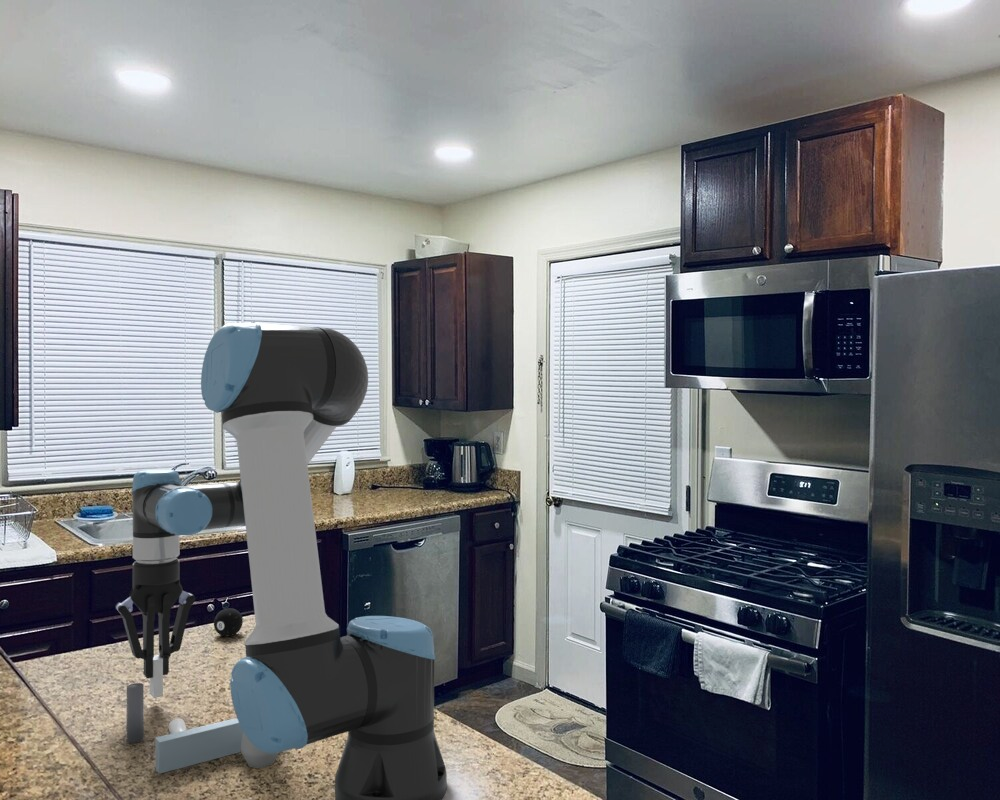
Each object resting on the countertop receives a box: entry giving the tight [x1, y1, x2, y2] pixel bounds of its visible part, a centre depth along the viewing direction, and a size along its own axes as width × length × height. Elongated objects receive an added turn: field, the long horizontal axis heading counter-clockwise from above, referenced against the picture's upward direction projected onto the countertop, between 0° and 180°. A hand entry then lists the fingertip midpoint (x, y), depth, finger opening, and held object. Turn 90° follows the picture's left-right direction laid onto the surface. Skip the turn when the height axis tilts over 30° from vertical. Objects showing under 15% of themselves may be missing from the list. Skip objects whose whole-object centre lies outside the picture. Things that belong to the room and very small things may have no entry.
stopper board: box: [154, 717, 243, 775], centre depth 120 cm, size 2×18×4 cm, turn 127°
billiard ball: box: [213, 607, 244, 637], centre depth 180 cm, size 6×6×6 cm
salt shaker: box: [240, 732, 279, 769], centre depth 118 cm, size 6×6×13 cm
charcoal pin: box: [126, 682, 145, 744], centre depth 125 cm, size 2×2×8 cm
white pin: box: [168, 717, 188, 734], centre depth 124 cm, size 2×2×8 cm
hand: (156, 694), depth 140 cm, fingers closed
